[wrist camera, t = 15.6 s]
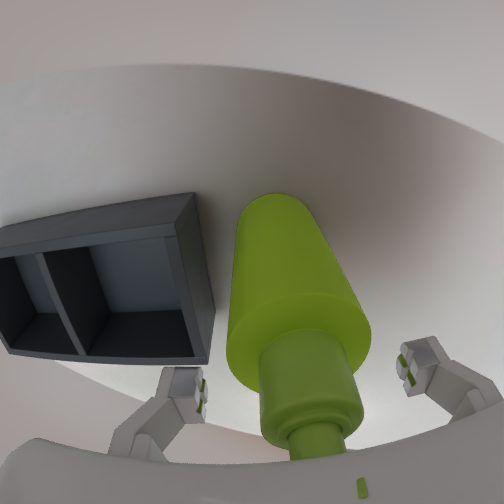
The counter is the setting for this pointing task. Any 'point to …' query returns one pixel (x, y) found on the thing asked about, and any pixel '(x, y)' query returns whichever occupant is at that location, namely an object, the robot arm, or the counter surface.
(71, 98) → the counter surface
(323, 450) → the soap dispenser
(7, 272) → the storage box
